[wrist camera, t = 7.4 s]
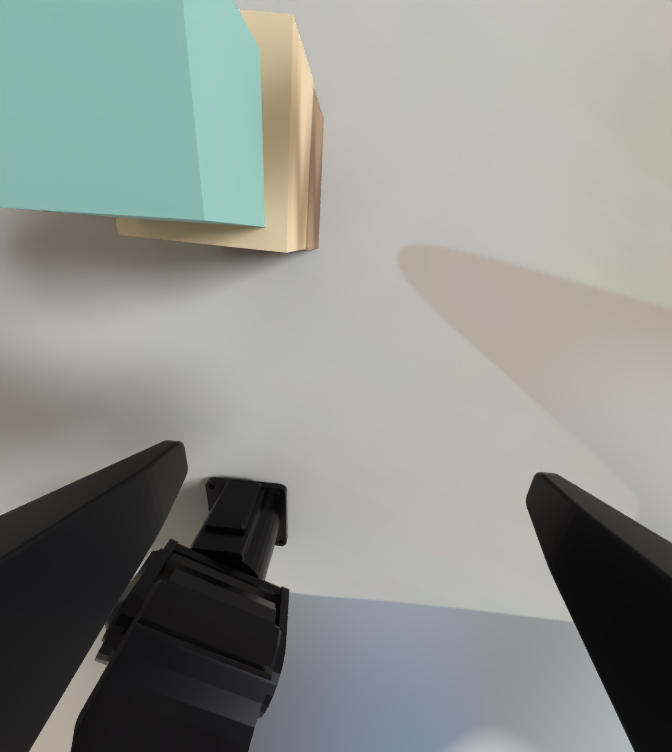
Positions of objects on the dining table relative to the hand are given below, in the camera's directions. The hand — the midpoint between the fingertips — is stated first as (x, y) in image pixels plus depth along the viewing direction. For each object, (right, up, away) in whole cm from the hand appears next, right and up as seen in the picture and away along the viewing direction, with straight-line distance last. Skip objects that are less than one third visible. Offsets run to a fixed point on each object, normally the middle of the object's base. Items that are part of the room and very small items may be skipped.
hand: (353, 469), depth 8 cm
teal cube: (-5, +10, +2) cm, 11 cm away
